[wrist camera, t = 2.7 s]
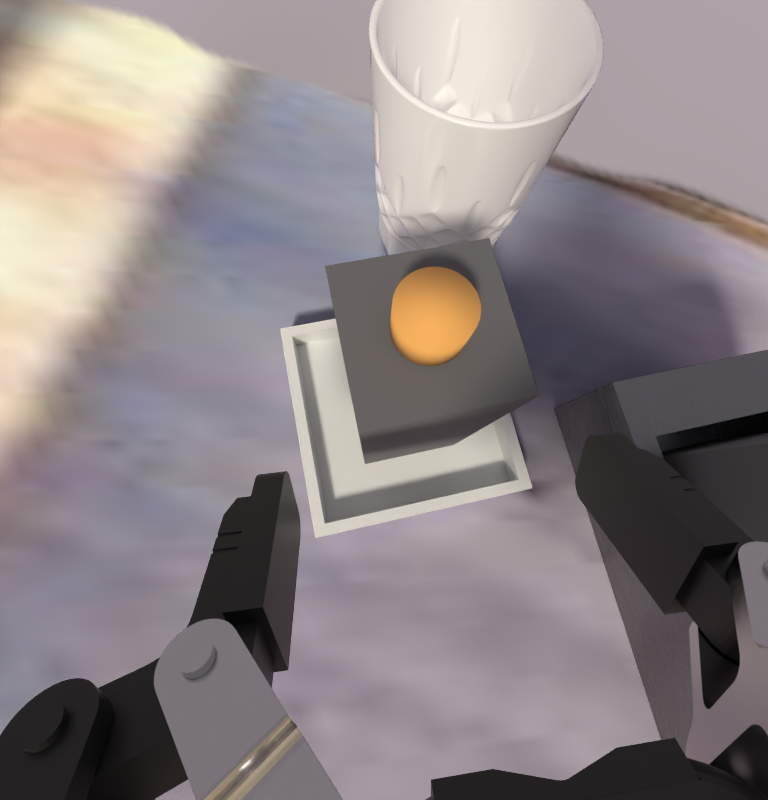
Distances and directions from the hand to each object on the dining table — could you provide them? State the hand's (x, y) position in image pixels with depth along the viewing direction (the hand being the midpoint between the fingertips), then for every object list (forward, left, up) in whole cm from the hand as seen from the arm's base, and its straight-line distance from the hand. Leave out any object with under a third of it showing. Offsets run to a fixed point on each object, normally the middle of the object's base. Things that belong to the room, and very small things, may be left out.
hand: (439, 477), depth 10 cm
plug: (0, +4, -8) cm, 9 cm away
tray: (0, +4, -9) cm, 10 cm away
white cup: (+5, +14, -9) cm, 17 cm away
